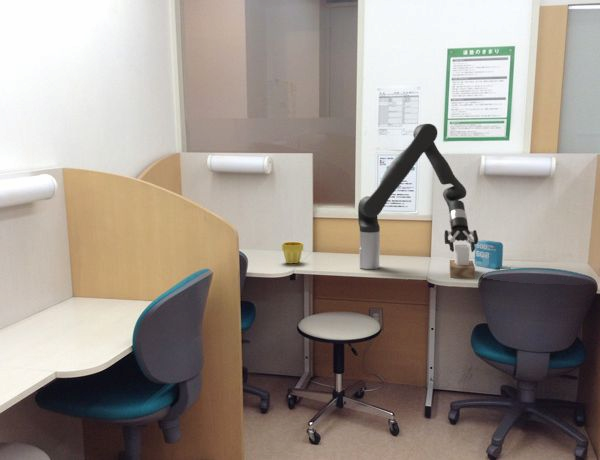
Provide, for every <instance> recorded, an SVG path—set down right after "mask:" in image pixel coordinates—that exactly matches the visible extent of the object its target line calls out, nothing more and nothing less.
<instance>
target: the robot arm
mask: <svg viewBox="0 0 600 460" xmlns="http://www.w3.org/2000/svg"><path fill="white" fill-rule="evenodd" d="M437 137H438V128H437V127H436V125H434V124H431V123H423V124H419V125H417V126H416V127H415V128H414V131H413V140H412V141H411V142H410V144H409V145H407V147H406V148H405V149H403V150H402V151H401V152H400V153H399V154H398V155H397V156H396V157H394V159H393V160H392V161H391V163H390V164H389V165H388V167H387V168H386V170H385V171H384V174H383V176H382V178H381V180H380V183H379V184H378V187H377V188H376V189H375V190H374V192H373V193H372V194H371V195H370V196H368V195H367V196H364V197H362V198H361V199H359V202H358V205H357V207H358V209H357V213H358V215H357V216H358V218H357V219H358V227H359V269H365V270H377V269H379V268H380V264H381V263H380V249H381V248H380V247H381V246H380V239H381V238H380V236H381V235H380V229H381V227H380V224H379V221H378V216H379V214H380V213H381V212H382V211H383V209H384V207H385V206H386V204H387V202H388V201H389V199H390V197H391V196H392V195H393V193H394V192H396V190H397V188H399V186H400V185H401V184H402V182H403V181H404V180H405V179H406V177H407V176H408V175H409V174H410V172H411V170H412V169H413V168H414V166H415V165H416V164H417V162H418V161H419V159H420V157H421V156H422V155H423V153H424V155H425V156H426V158H427V159H428V161H429V163H430V164H431V167H432V168H433V170H434V172H435V174H436V176H437V178H438V180H439V182H440V184H441V185H443V186H445V185H451V186H450V187H447V188H445V189H444V190H443V192H442V197H443V198H444V200H445V201H444V202H446V205H447V207H448V211H449V212H448V213H449V225H450V231H448V230H447V229H445V230H444V234H443V235H444V244H445V245H449V250H450V251H451V253H452V252H453V253H454V252H455V245H454V243H455V241H457V242H460V241H461V242H462V241H463V242H464V241H465V242H466V243H468V244H470V246H469V247H470V250H471V253H474V252H475V244H477V243H478V241H479V237H478V233H477V230H475V229H474V230H472V231H470V230H469V229H470V228H469V223H468V219H467V218H468V217H467V213H466V209H465V204H464V202H463V201H462V200H461V199H464V198H465V197H467V189H466V187H465V186H464V185H463V184H462V183H461V182H460V181H459V180H458V178H457V177H456V176H455V174H454V172H453V170H452V168H451V167H450V164H449V163H448V161H447V160H446V158H445V157H444V156H443V154H442V153H441V152H440V151H439V149H438V147H437V146H436V143H435V141H436V139H437ZM470 235H471V236H470ZM449 236H452V237H451V238H450V239H449Z"/></svg>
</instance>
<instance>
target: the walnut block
mask: <svg viewBox="0 0 600 460" xmlns="http://www.w3.org/2000/svg"><path fill="white" fill-rule="evenodd" d="M475 272H476V267H475V263H474V261H473V260H469V265H457V264H456V263H455V259H449V276H450V278H451V279H470V280H471V279H472V280H473V279H475V277H476V276H475V274H476V273H475Z"/></svg>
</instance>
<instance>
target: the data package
mask: <svg viewBox="0 0 600 460" xmlns="http://www.w3.org/2000/svg"><path fill="white" fill-rule="evenodd" d="M503 257H504V245H503V243H502V242H500V241H492V240H486V239H481V240H478V243H477V244H475V250H474V261H473V264H474V266H476V267H479V268H480V267H481V268H485V269H486V268H487V269H492V270H498V269H501V268H502V266H503V259H504V258H503Z"/></svg>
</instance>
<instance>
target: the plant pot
mask: <svg viewBox="0 0 600 460" xmlns="http://www.w3.org/2000/svg"><path fill="white" fill-rule="evenodd" d="M281 249H282V251H283V255H284V260H285V263H286V262H287V263H298V262H299V263H300V262H301V258H302V251H304V243H303V242H300V241H285V242H282V243H281ZM287 263H286V264H287ZM299 263H298V264H299Z"/></svg>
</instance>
